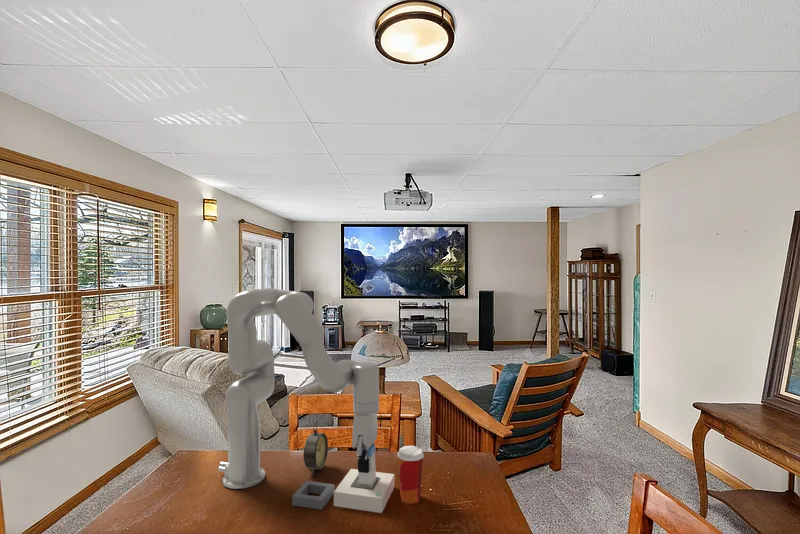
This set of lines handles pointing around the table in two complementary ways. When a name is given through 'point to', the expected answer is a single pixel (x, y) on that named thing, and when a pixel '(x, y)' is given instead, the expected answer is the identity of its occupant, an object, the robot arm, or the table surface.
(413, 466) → the paper cup
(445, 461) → the table surface
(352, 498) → the port panel
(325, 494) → the grey square frame
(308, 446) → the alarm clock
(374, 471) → the plug
